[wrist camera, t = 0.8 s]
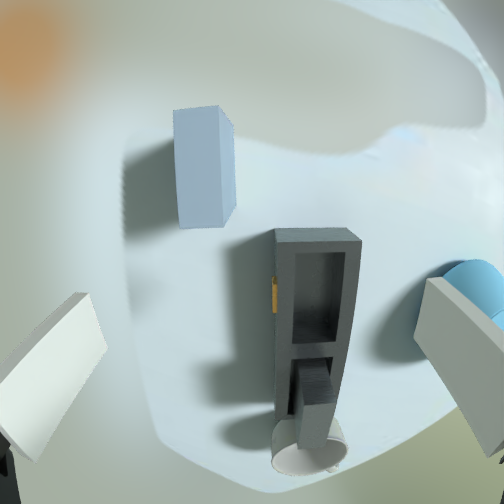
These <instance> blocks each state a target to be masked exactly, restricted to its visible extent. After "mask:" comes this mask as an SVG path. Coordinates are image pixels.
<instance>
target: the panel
mask: <svg viewBox="0 0 504 504" xmlns="http://www.w3.org/2000/svg"><path fill="white" fill-rule="evenodd" d="M173 128H174V156H175V175H176V191H177V204H178V216H179V228H180V229H193V228H222V227H224V226H225V224H226V222H227V221H228V219H229V217H230V215H231V213H232V212H233V210H234V208H235V206H236V184H235V158H234V129H233V124H232V123H231V121H230V120H229V119H228V118H227V116H226V115H225V113H224V112H223V111H222V109H221V108H220V107H219V106H207V107H198V108H189V109H180V110H173Z"/></svg>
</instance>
